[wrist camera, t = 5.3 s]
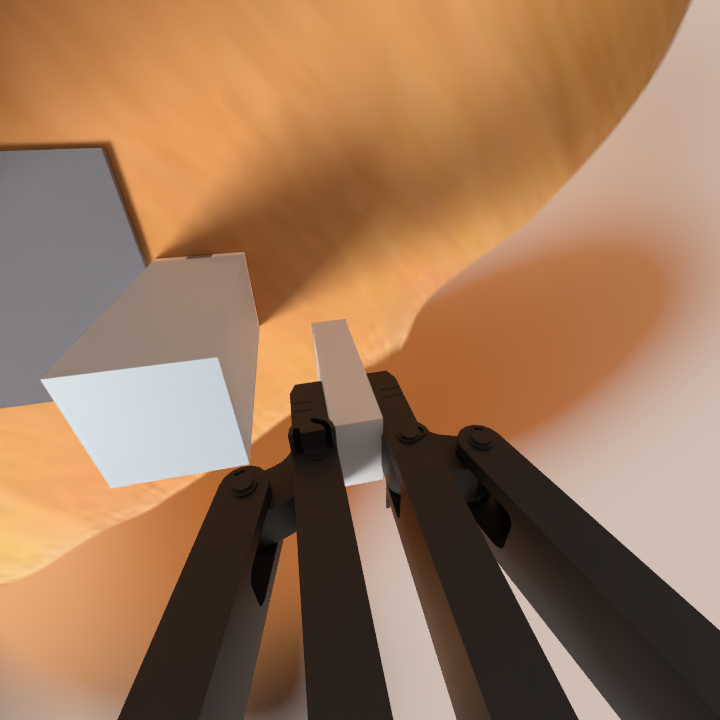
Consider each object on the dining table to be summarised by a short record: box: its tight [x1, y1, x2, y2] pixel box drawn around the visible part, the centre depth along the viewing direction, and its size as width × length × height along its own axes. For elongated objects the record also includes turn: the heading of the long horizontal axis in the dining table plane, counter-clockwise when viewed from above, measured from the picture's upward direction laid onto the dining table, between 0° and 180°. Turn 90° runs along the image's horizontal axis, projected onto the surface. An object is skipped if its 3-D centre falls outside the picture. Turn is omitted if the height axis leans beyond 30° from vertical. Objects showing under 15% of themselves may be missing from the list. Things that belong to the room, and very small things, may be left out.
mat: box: [0, 148, 147, 408], centre depth 20 cm, size 14×13×1 cm
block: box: [40, 252, 260, 488], centre depth 17 cm, size 5×5×12 cm
